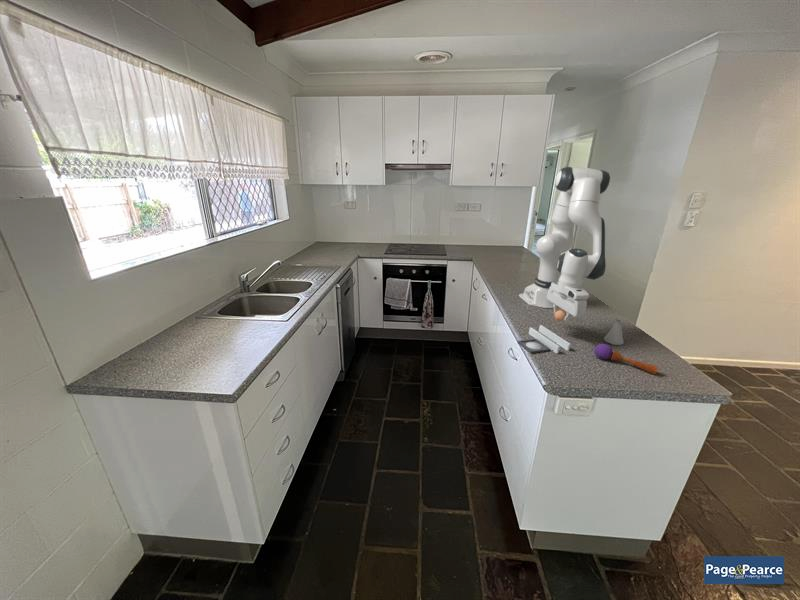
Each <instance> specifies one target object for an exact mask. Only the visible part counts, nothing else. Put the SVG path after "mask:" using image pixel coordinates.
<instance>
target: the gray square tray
mask: <svg viewBox="0 0 800 600" xmlns="http://www.w3.org/2000/svg"><path fill="white" fill-rule="evenodd" d="M517 344H518V345H520V346H521V347H522V348H523V349H524V350H526V351H527V352H528V353H530V354H536V353H537V354H538V352H540V353H545V352H544V351H547V352H551V351H552V350H551V349H550V348H549V347H547V346H546V345H545V344H543V343H542V342H540V341H539V340H538V339H535V338H532V339H531V338H530V339H522V340H517Z"/></svg>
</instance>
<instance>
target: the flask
mask: <svg viewBox="0 0 800 600" xmlns="http://www.w3.org/2000/svg"><path fill="white" fill-rule="evenodd" d="M623 324H624V320H622V319H617V318H616V319H614V323H613V325H612V326H611V327H612V328H611V329H610V330H609V331H608V333H607V334H606V335H605V336H603V338H602V340H604V341H605V343H608V344H611V345H612V346H622V345H624V344H625V342H624V337H623V331H622V330H623Z"/></svg>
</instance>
